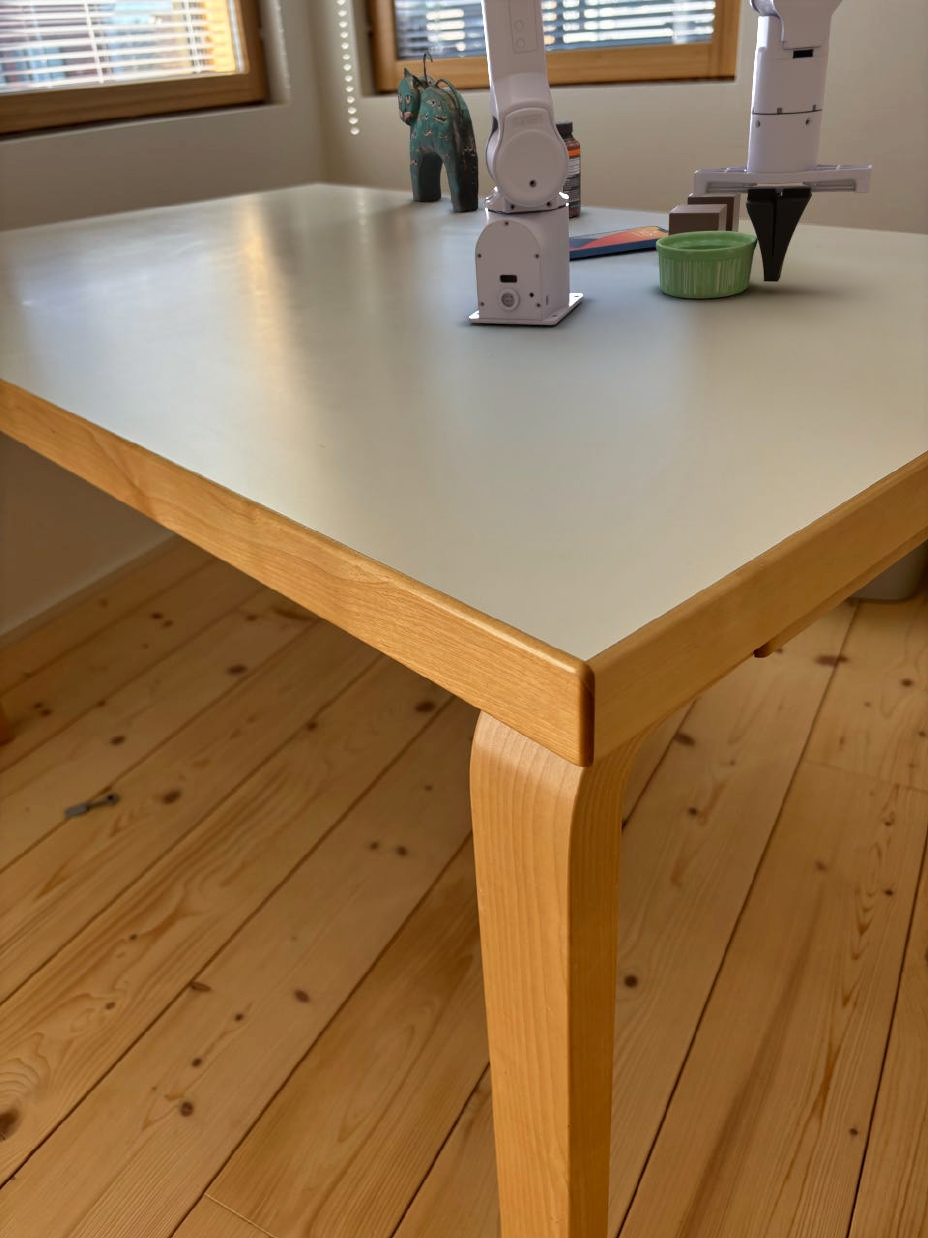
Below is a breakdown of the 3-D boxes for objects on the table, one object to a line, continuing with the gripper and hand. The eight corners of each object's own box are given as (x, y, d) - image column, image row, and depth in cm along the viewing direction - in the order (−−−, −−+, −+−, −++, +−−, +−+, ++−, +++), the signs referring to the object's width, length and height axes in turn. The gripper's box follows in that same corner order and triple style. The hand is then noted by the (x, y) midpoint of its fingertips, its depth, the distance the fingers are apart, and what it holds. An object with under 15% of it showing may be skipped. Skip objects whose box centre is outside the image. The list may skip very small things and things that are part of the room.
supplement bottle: (528, 215, 134) (525, 122, 129) (566, 210, 136) (565, 118, 131) (549, 221, 130) (547, 124, 124) (589, 215, 132) (588, 119, 126)
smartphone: (531, 251, 113) (530, 242, 113) (654, 234, 116) (654, 224, 115) (551, 263, 107) (550, 253, 107) (681, 245, 110) (681, 235, 109)
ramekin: (761, 279, 94) (765, 230, 92) (744, 302, 87) (747, 250, 85) (667, 277, 98) (669, 230, 95) (643, 299, 91) (645, 249, 89)
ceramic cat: (402, 199, 156) (389, 52, 146) (440, 194, 158) (430, 49, 148) (452, 214, 140) (441, 51, 130) (493, 208, 142) (486, 47, 132)
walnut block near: (716, 264, 101) (719, 212, 98) (667, 264, 103) (668, 212, 100) (724, 254, 105) (727, 203, 102) (676, 254, 107) (678, 204, 104)
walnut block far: (731, 245, 109) (734, 195, 106) (685, 245, 111) (687, 196, 108) (737, 236, 113) (741, 188, 110) (693, 236, 115) (695, 189, 112)
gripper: (881, 102, 84) (859, 270, 91) (706, 110, 89) (698, 268, 96) (878, 110, 78) (855, 288, 85) (692, 118, 83) (685, 285, 90)
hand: (772, 279), depth 90 cm, fingers closed
